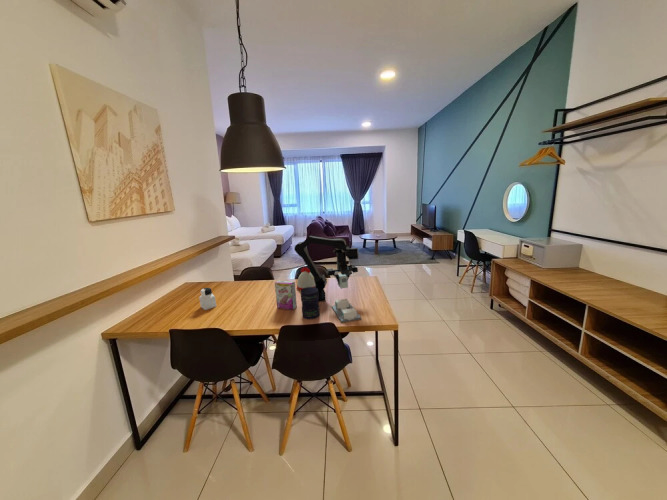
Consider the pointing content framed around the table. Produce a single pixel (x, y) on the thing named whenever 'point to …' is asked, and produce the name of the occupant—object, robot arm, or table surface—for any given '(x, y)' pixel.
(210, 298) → the medicine bottle
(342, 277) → the block
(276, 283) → the candy bar box
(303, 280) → the kitchen timer
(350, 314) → the board
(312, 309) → the storage jar
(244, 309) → the table surface
